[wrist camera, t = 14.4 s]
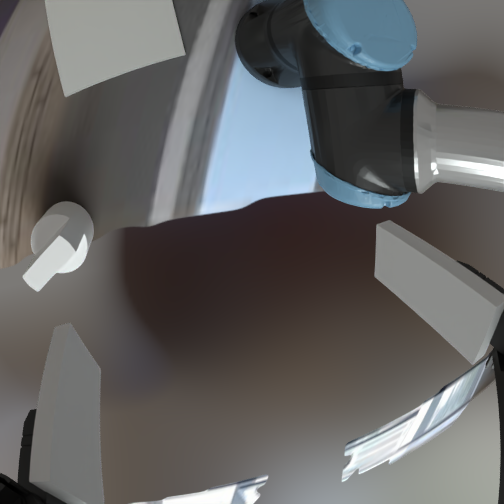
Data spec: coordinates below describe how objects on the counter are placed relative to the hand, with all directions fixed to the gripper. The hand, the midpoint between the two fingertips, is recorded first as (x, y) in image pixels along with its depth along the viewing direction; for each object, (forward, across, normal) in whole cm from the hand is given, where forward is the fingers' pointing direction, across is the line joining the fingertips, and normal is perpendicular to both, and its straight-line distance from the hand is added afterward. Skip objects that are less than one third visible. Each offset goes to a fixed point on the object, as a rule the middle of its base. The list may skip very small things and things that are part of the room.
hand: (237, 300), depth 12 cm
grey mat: (+37, +4, -23) cm, 44 cm away
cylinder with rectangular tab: (+37, +19, +6) cm, 42 cm away
